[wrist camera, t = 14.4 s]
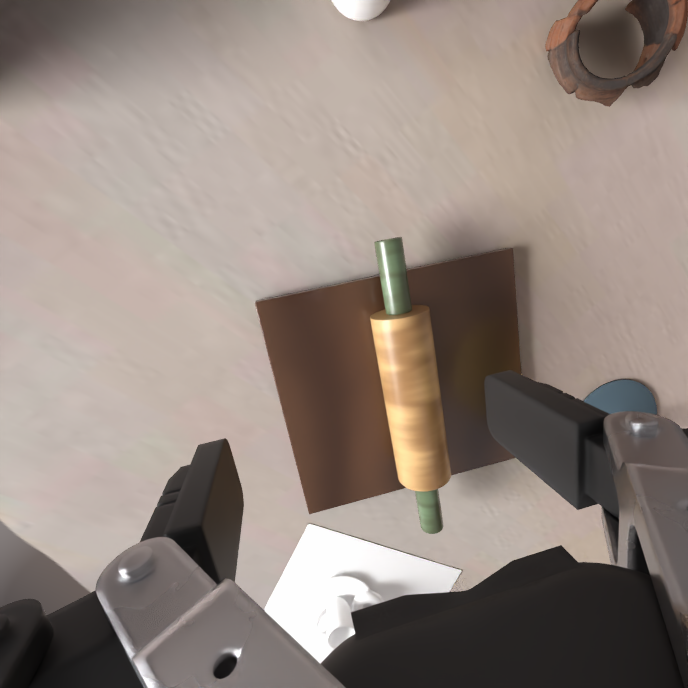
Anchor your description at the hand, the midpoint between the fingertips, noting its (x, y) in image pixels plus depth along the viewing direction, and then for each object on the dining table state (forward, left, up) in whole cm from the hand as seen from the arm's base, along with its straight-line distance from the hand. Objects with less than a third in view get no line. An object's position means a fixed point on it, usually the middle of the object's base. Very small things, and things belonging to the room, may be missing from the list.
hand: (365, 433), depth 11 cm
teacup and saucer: (-3, -36, -24) cm, 43 cm away
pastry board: (+7, -9, -24) cm, 26 cm away
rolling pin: (+7, -9, -22) cm, 25 cm away
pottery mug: (+29, +18, -24) cm, 42 cm away
